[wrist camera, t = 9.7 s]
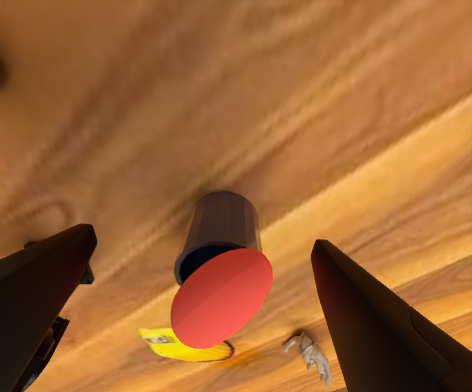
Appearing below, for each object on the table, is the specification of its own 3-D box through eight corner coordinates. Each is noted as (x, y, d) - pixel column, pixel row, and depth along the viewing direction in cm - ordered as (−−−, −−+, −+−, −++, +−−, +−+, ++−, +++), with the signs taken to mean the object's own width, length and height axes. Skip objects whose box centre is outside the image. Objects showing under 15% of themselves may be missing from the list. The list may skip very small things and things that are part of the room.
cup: (254, 247, 26) (259, 305, 20) (191, 243, 26) (176, 301, 20) (261, 194, 23) (271, 244, 16) (189, 189, 23) (170, 238, 16)
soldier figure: (291, 356, 41) (269, 349, 33) (303, 330, 42) (285, 318, 34) (333, 390, 36) (320, 393, 28) (345, 360, 37) (335, 354, 29)
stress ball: (159, 257, 19) (141, 346, 16) (231, 231, 13) (226, 363, 10) (207, 268, 22) (201, 344, 19) (283, 250, 16) (291, 356, 13)
